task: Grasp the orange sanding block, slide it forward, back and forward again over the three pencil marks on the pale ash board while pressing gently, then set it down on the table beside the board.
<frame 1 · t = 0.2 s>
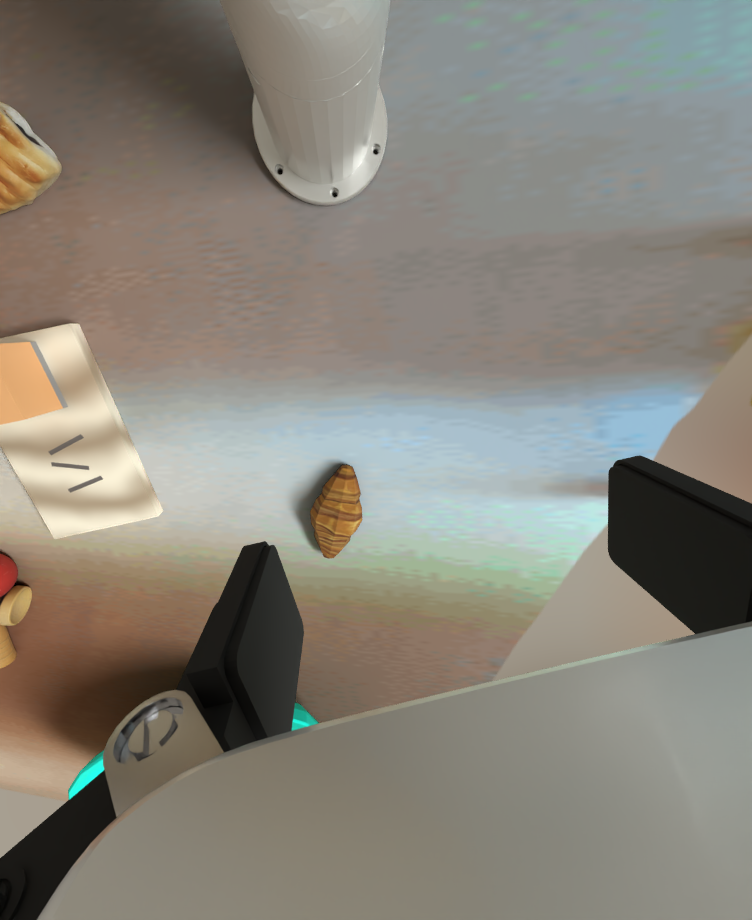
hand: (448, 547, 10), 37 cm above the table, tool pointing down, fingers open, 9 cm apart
kendama: (9, 600, 51), on the table
ash board: (70, 437, 44), on the table
croissant: (336, 507, 50), on the table
table top decor: (253, 717, 62), on the table
pastry: (19, 169, 36), on the table
sanding block: (29, 380, 40), point 1 cm above the table, touching ash board
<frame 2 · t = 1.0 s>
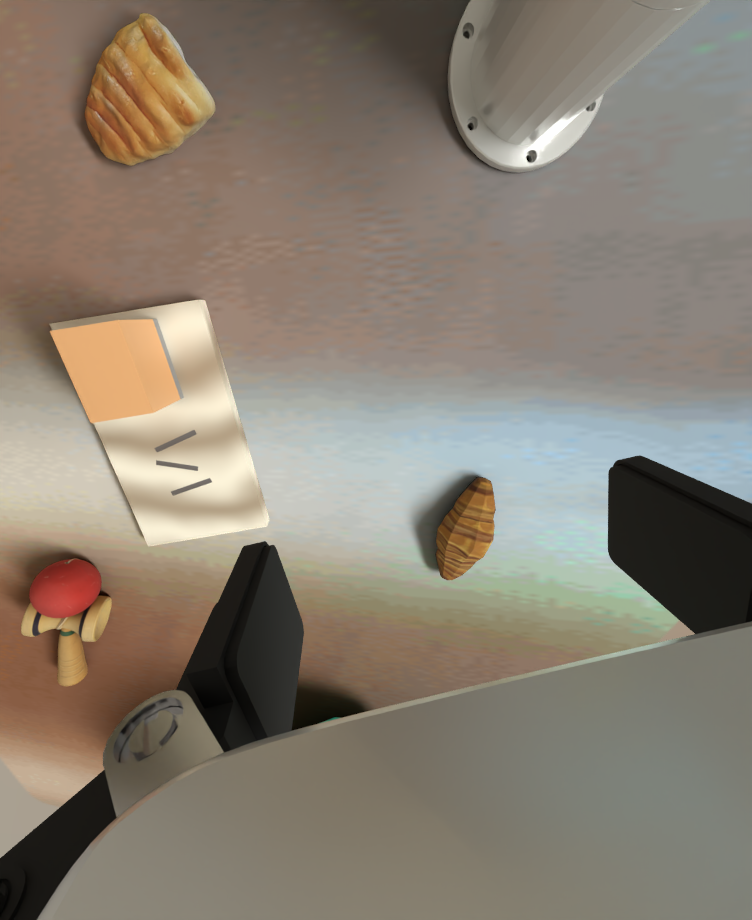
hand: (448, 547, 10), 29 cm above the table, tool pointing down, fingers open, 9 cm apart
kendama: (85, 609, 45), on the table
ash board: (177, 432, 38), on the table
croissant: (459, 523, 45), on the table
pastry: (160, 109, 29), on the table
sanding block: (143, 364, 34), point 1 cm above the table, touching ash board
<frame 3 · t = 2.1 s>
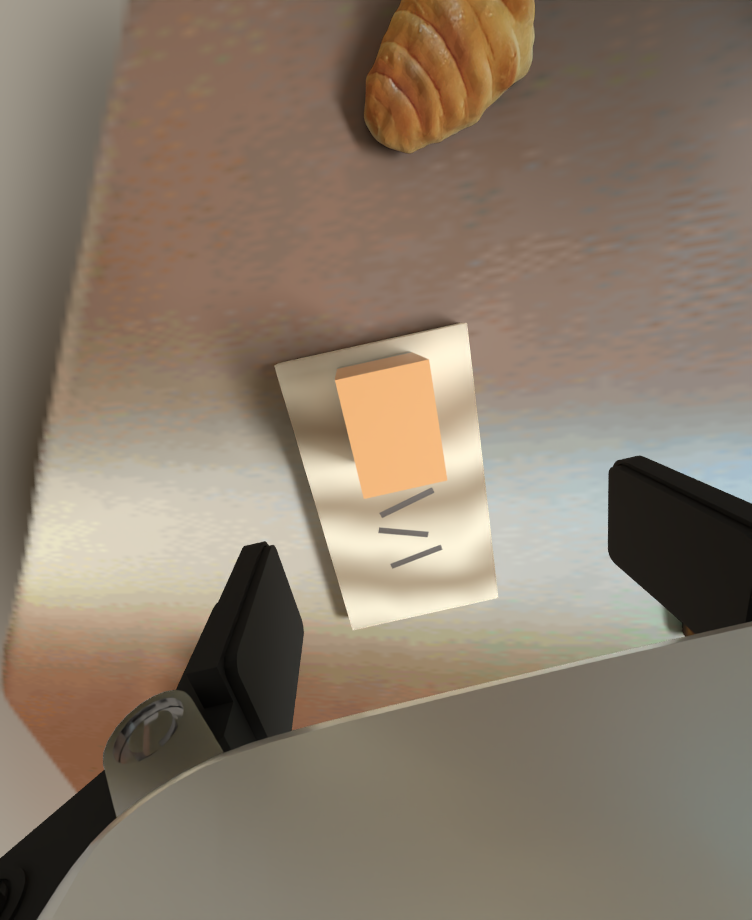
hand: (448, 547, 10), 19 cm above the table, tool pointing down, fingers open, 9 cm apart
ash board: (399, 489, 30), on the table
pastry: (444, 76, 22), on the table
sanding block: (383, 409, 26), point 1 cm above the table, touching ash board
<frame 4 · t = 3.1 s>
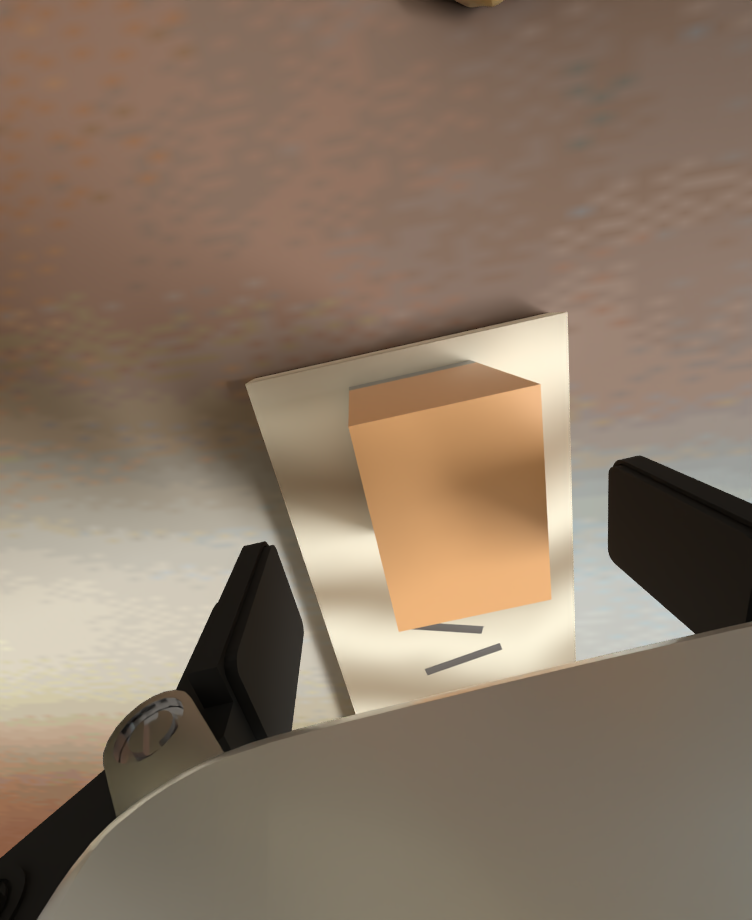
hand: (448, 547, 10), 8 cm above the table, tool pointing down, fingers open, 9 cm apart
ash board: (439, 562, 20), on the table
sanding block: (423, 453, 16), point 1 cm above the table, touching ash board
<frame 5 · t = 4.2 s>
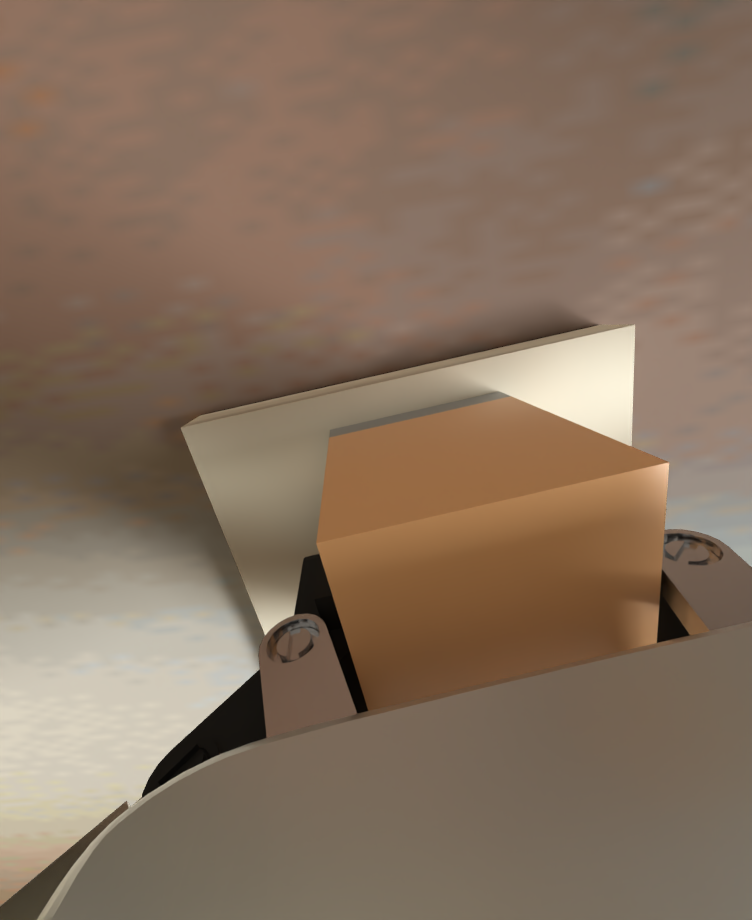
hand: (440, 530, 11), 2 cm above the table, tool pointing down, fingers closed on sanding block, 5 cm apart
ash board: (450, 642, 16), on the table
sanding block: (433, 515, 12), point 2 cm above the table, touching ash board, gripper
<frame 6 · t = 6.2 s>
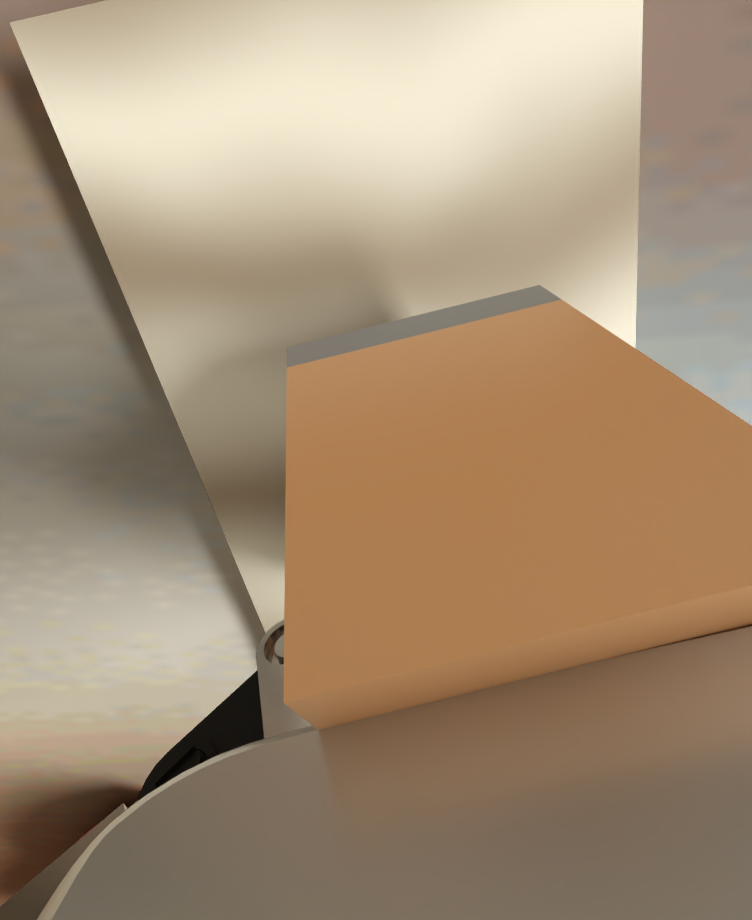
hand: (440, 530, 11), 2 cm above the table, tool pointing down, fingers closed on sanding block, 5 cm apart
ash board: (417, 455, 13), on the table
sanding block: (427, 448, 10), point 3 cm above the table, tilted 23°, touching gripper
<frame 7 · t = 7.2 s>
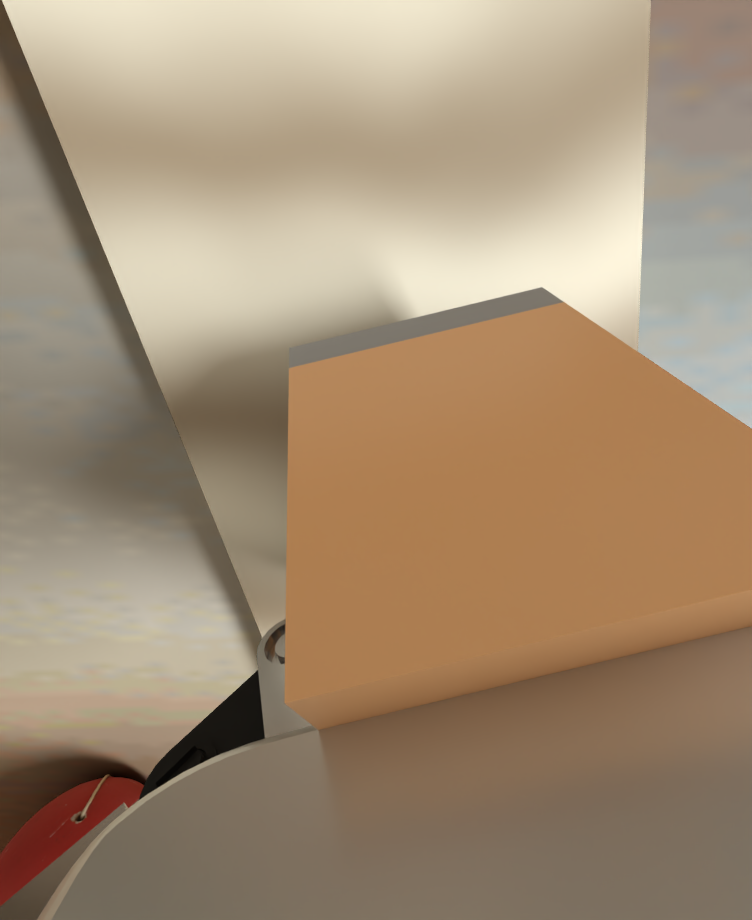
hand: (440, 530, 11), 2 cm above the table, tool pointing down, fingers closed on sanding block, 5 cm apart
kendama: (122, 861, 19), on the table
ash board: (404, 387, 12), on the table
sanding block: (429, 450, 10), point 3 cm above the table, tilted 23°, touching gripper
when the fingers open (2 cm above the table, at t = 16.0 s): sanding block drops 3 cm, on the table.
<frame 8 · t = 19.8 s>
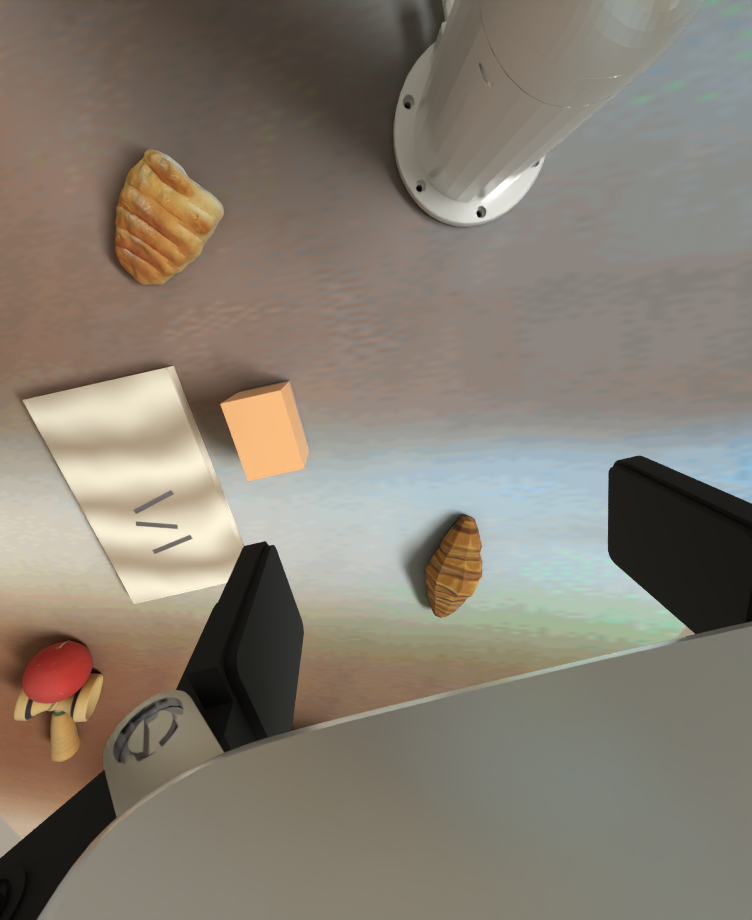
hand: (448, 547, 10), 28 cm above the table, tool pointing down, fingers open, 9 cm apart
kendama: (77, 685, 47), on the table
ash board: (155, 492, 39), on the table
croissant: (448, 560, 45), on the table
pastry: (175, 225, 31), on the table
sanding block: (275, 420, 37), on the table
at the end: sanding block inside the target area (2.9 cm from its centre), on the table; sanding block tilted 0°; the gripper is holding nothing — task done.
